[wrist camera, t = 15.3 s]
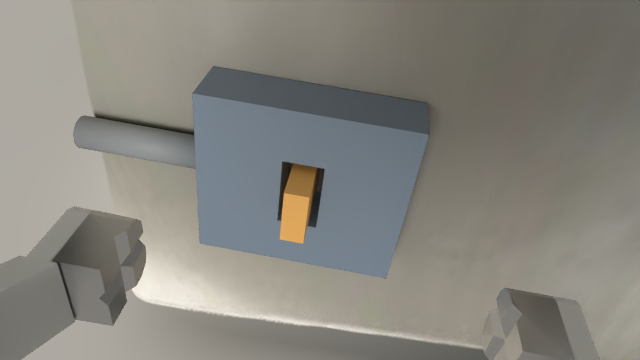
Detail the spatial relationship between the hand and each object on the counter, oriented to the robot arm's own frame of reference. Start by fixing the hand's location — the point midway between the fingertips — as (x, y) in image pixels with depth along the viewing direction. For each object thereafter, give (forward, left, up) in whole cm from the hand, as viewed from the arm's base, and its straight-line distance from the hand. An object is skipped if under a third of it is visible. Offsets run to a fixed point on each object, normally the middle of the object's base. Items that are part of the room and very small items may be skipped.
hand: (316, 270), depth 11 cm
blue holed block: (+9, +18, -29) cm, 35 cm away
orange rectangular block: (+3, +18, -29) cm, 34 cm away
